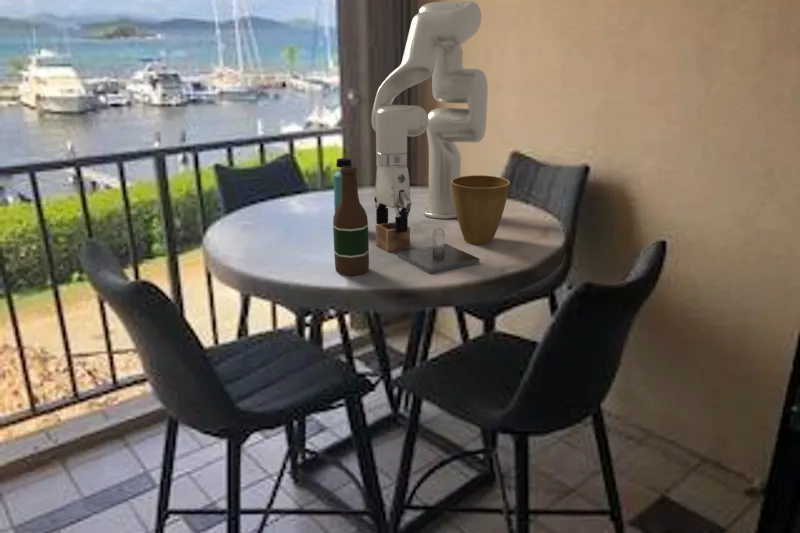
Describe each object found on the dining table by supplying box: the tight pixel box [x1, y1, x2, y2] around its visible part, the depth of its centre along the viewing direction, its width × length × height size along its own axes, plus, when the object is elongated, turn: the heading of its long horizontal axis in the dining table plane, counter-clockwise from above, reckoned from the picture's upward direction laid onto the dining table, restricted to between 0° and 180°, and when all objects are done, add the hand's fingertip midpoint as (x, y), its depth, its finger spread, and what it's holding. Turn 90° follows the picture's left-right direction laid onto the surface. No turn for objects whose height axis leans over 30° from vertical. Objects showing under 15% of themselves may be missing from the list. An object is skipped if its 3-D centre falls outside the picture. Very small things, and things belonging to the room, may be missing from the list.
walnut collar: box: [375, 221, 411, 253], centre depth 160 cm, size 6×6×6 cm
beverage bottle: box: [332, 157, 353, 212], centre depth 173 cm, size 6×7×20 cm
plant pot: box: [451, 174, 511, 245], centre depth 163 cm, size 15×15×16 cm
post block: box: [397, 227, 481, 275], centre depth 149 cm, size 14×14×8 cm
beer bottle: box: [332, 165, 370, 277], centre depth 140 cm, size 8×8×24 cm
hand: (391, 227), depth 159 cm, fingers open, 9 cm apart
